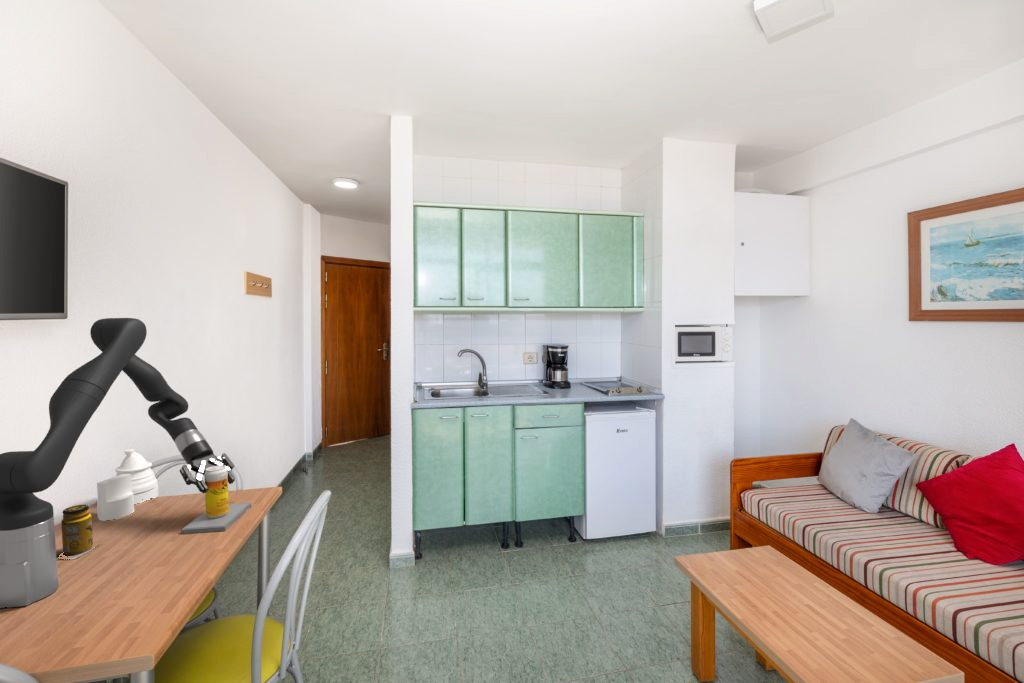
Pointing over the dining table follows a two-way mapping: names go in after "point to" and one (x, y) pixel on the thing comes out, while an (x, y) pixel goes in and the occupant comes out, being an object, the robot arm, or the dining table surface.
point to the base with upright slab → (115, 497)
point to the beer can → (216, 491)
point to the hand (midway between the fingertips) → (219, 486)
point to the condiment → (76, 531)
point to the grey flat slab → (216, 520)
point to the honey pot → (139, 476)
